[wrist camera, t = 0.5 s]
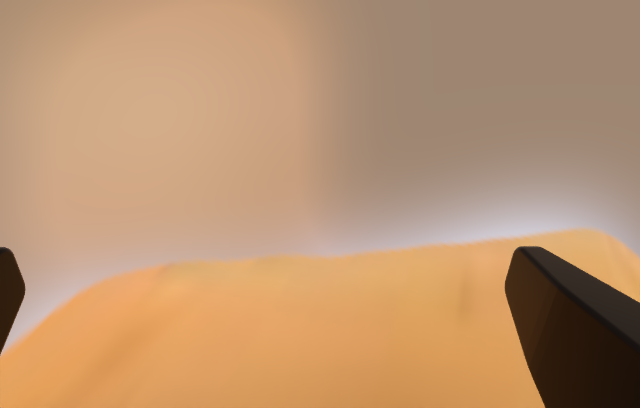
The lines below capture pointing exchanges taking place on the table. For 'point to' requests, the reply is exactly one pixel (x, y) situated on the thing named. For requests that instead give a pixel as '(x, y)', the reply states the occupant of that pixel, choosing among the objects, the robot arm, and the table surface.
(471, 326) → the table surface
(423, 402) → the table surface
